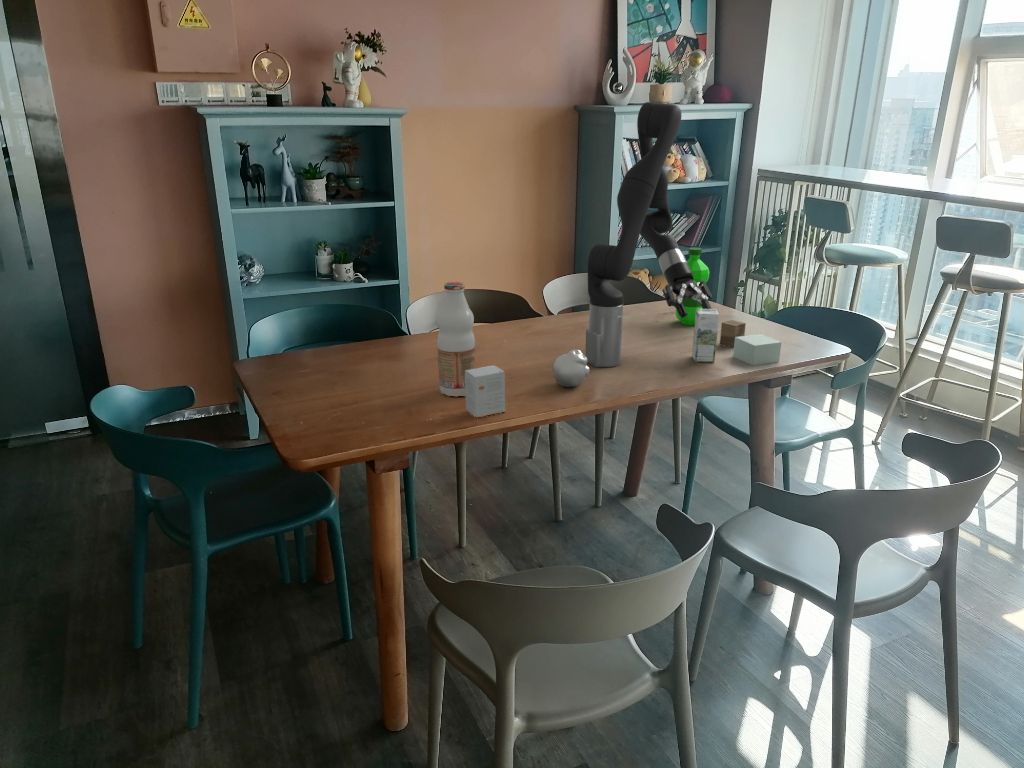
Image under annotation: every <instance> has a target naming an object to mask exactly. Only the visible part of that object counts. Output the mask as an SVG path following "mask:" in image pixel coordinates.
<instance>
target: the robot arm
mask: <svg viewBox="0 0 1024 768" xmlns="http://www.w3.org/2000/svg"><path fill="white" fill-rule="evenodd" d="M682 115H683V114H682V109H681V107H680V106H679V105H676V104H671V103H664V102H652V101H650V102H649V101H647V102H644V103H643V104H642V105H641V107H640V109H639V111H638V113H637V123H636V126H637V129H636V130H637V138H638V144H639V145H638V147H639V151H640V159H639V160H638V161H637V162H635V164H634V165H632V167H631V168H630V169H628V170H627V172H626V173H625V174H624V177H623V179H622V182H621V184H620V187H619V190H618V193H617V197H616V205H617V209H618V214H619V217H620V221H621V233H620V236H619V240H618V242H617V245H612V244H604V243H603V244H602V243H599V244H597V243H596V244H595V245H593V247H592V248H591V250H590V251H589V254H588V258H587V293H588V297H589V314H588V315H589V316H588V317H589V318H588V321H589V322H588V328H587V329H586V330H585V351H584V353H585V354H584V355H585V356H586V358H587V364H589V365H591V366H593V367H595V368H611V367H617V366H618V365H621V361H622V360H621V359H622V358H621V357H622V342H623V341H622V337H623V336H622V335H623V315H624V295H623V293H622V291H620V290H619V289H617V288H616V287H614V286H613V284H612V282H611V281H614V282H615V281H616V282H621V281H624V280H625V279H626V278H627V277H628V275H629V273H630V271H631V268H632V265H633V263H634V259H635V256H636V255H635V254H636V250H637V246H638V242H639V239H640V236H641V238H642V239H643V240H644V241H645V242H646V243H647V245H648V246H649V247H651V249H652V250H653V252H654V255H655V256H656V258H657V259H656V260H658V262H659V263H658V264H659V267H660V269H661V271H662V273H663V275H664V276H663V277H664V278H665V280H666V283H667V284H666V285H665V286H664V287H663V288H662V290H661V291H662V293H663V296H664V299H665V302H666V304H667V306H668V307H674V308H675V310H676V309H677V311H678V314H679V315H680V316H681V318H685V317H686V316H687V312H686V310H685V308H684V305H683V303H682V304H681V302H682V299H686V298H688V299H690V298H692V299H694V300H697V301H698V302H700V303H701V306H702V308H703V309H713V308H712V306H711V305H710V302H709V300H710V299H712V297H713V294H712V292H711V291H710V289H709V287H708V285H707V282H706V283H705V281H703V280H702V281H701V282H699V283H696V282H695V281H694V280H693V274H692V271H691V269H690V267H689V265H688V263H687V259H686V256H685V255H684V253H683V251H682V250H681V249H680V246H679V245H678V242H677V240H676V238H675V237H674V235H672V234H665V233H668V232H669V231H670V230H671V229H672V227H673V222H674V221H673V217H672V214H671V213H672V212H671V210H670V206H669V201H668V192H669V191H668V189H669V188H668V187H669V186H668V185H669V180H668V174H667V172H666V169H665V166H664V164H665V162H666V160H667V157H668V155H669V152H670V150H671V148H672V146H673V144H674V142H675V139H676V136H677V134H678V132H679V129H680V125H681V122H682ZM654 139H656V141H655V142H654ZM649 209H657V210H654V211H650V212H648V211H649ZM696 292H697V293H698V294H697V295H695V294H696ZM674 294H675V296H674ZM700 297H701V298H703V299H701V298H700Z"/></svg>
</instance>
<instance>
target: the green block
mask: <svg viewBox="0 0 1024 768" xmlns="http://www.w3.org/2000/svg"><path fill="white" fill-rule="evenodd" d="M781 349H782V341H780V340H777V339H774V338H772V337H770V336H767V335H765V334H762V333H760V334H750V335H744V336H740V337H735V343H734V348H733V353H732V354H733V355H732V357H733V356H734V358H736V359H738V360H740V361H742V362H744V363H746V364H749V365H751V366H759V365H765V364H766V365H767V364H772V363H779V362H780V358H781V357H780V356H781Z"/></svg>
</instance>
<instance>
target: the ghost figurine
mask: <svg viewBox="0 0 1024 768" xmlns="http://www.w3.org/2000/svg"><path fill="white" fill-rule="evenodd" d="M587 364H588V363H587V358H586V356H585V354H584V353H583V352H582V351H581V350H580V349H577V348H576V349H575V348H574V349H571V350H570V351H568V353H567V352H566V353H564V354H561V355H560V356H559V357H557V358H556V360H555V361H554V363H553V366H552V374H553V377H554V379H555V381H556V382H557V383H558V384H559V385H561V386H563V387H566V388H574V387H577V386H579V385H581V383H582V382H584V380H585V379H586V378H587V377H589V375H590V373H591V372H590V371H591V370H590V367H589V366H588V365H587Z"/></svg>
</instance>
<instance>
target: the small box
mask: <svg viewBox="0 0 1024 768" xmlns="http://www.w3.org/2000/svg"><path fill="white" fill-rule="evenodd" d="M505 374H506V373H505V371H504V370H502V369H501V368H499V367H498V366H496V365H495V364H494V365H487V366H483V367H477V368H476V369H470V370H465V391H466V396H465V410H466V409H467V410H468V411H469V412H470V413H472V414H473V415H474V416H476V417H477V416H481V415H487V414H491V413H496V412H501V411H505V412H506V379H505V378H506V375H505Z"/></svg>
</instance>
